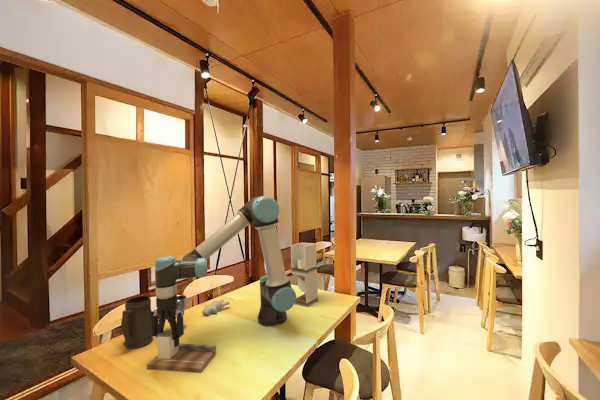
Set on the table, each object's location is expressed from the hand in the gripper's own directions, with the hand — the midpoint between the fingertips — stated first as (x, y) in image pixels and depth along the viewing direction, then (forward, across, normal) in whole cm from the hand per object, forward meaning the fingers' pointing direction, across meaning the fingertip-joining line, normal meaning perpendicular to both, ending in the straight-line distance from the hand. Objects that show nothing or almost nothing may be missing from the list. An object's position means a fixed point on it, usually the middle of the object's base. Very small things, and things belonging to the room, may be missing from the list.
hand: (168, 353), depth 108 cm
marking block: (0, 0, 0) cm, 0 cm away
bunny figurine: (+2, +3, -46) cm, 46 cm away
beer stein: (+2, +21, -8) cm, 23 cm away
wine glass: (+2, +12, -25) cm, 28 cm away
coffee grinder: (+2, -47, -63) cm, 79 cm away
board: (+2, -7, +1) cm, 7 cm away
